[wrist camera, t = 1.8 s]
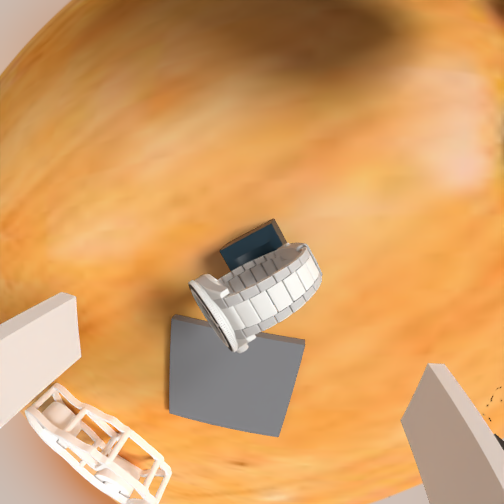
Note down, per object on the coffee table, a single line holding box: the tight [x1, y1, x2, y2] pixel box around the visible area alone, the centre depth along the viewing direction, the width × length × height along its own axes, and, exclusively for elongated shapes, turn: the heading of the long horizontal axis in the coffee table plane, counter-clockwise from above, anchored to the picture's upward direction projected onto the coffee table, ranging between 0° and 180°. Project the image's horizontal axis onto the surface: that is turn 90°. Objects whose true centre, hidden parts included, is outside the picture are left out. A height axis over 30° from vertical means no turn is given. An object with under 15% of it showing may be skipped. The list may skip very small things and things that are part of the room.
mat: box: [169, 314, 305, 437], centre depth 28 cm, size 12×12×1 cm
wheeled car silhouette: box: [25, 383, 172, 504], centre depth 30 cm, size 20×11×7 cm, turn 42°
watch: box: [188, 219, 322, 353], centre depth 20 cm, size 6×8×11 cm
